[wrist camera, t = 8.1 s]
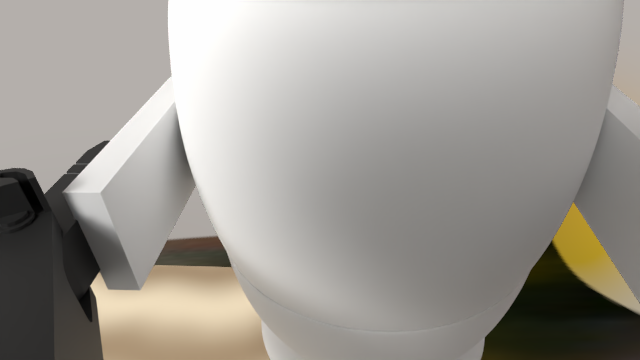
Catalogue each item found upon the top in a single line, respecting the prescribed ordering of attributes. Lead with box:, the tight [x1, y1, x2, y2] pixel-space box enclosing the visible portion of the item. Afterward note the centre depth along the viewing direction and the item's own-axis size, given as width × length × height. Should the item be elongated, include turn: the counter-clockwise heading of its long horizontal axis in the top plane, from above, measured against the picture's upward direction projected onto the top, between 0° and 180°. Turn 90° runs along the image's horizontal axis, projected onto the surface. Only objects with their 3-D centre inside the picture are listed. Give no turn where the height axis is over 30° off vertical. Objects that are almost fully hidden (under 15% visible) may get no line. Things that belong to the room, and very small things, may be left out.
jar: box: [168, 0, 624, 360], centre depth 13 cm, size 11×10×15 cm
